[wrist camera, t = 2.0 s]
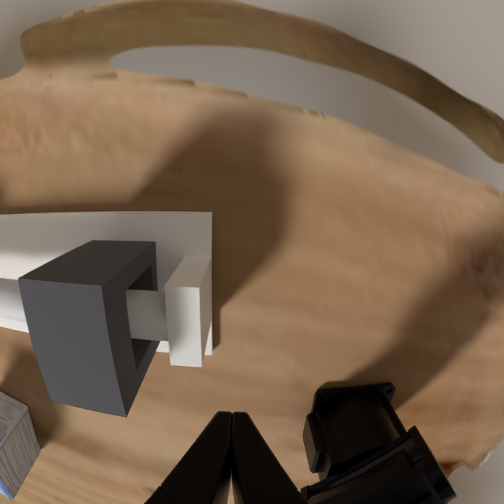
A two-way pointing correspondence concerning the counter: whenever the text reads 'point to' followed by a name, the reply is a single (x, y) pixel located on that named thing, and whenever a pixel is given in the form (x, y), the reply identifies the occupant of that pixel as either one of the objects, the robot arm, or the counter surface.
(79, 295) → the dark gray rectangular sleeve
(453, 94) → the counter surface
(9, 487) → the medicine box
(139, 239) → the white slider rail stand
